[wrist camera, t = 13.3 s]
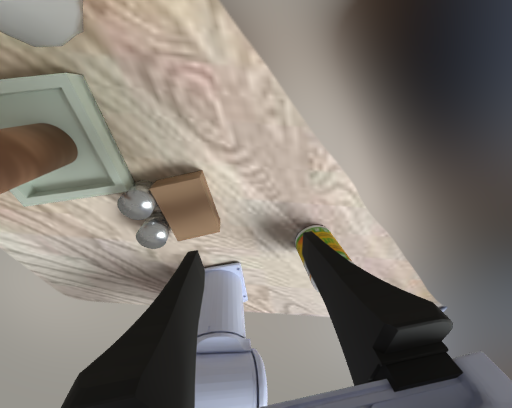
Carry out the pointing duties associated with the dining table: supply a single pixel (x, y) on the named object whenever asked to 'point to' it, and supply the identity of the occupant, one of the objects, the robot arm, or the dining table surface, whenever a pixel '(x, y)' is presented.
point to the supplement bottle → (323, 235)
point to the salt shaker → (41, 21)
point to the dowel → (32, 153)
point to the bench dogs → (145, 214)
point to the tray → (76, 126)
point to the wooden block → (187, 205)
